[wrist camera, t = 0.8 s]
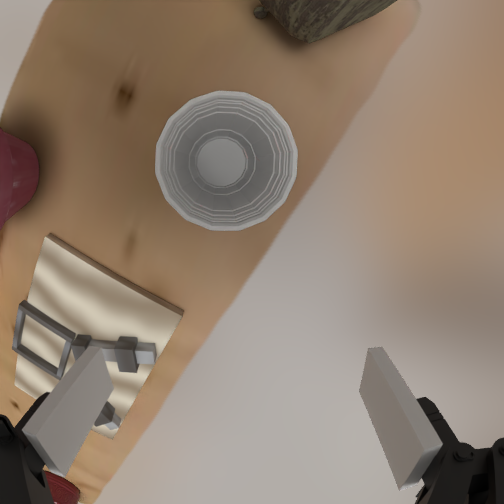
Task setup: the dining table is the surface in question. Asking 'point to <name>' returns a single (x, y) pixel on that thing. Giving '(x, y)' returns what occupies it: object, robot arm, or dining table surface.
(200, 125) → the plastic cup
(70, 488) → the canister
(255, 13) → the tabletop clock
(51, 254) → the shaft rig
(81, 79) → the dining table surface
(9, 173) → the plant pot
